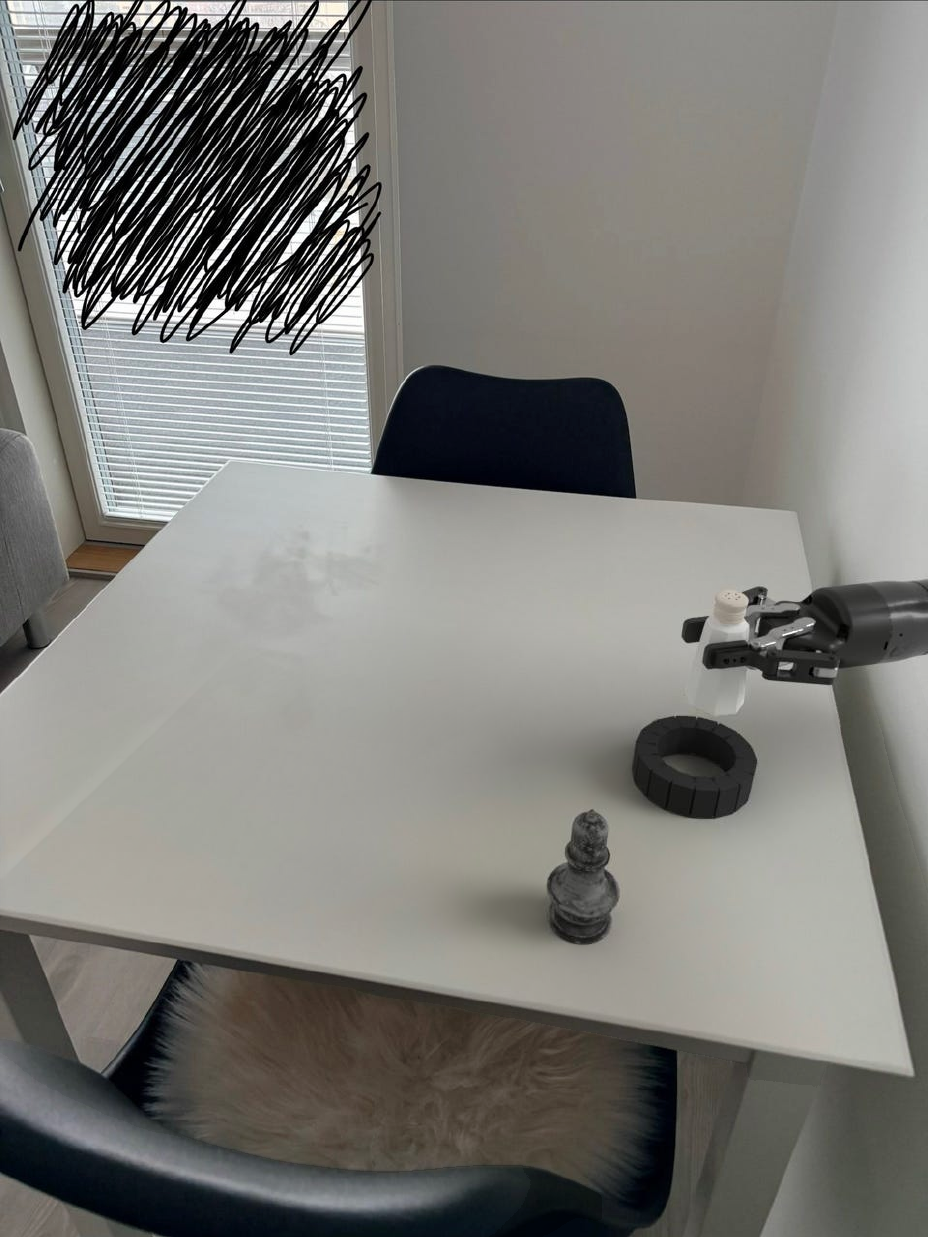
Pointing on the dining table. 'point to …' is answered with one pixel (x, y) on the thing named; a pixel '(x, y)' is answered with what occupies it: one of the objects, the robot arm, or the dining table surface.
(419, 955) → the dining table surface
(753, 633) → the robot arm
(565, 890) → the grey chess piece
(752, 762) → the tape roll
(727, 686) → the pepper shaker
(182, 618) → the dining table surface
